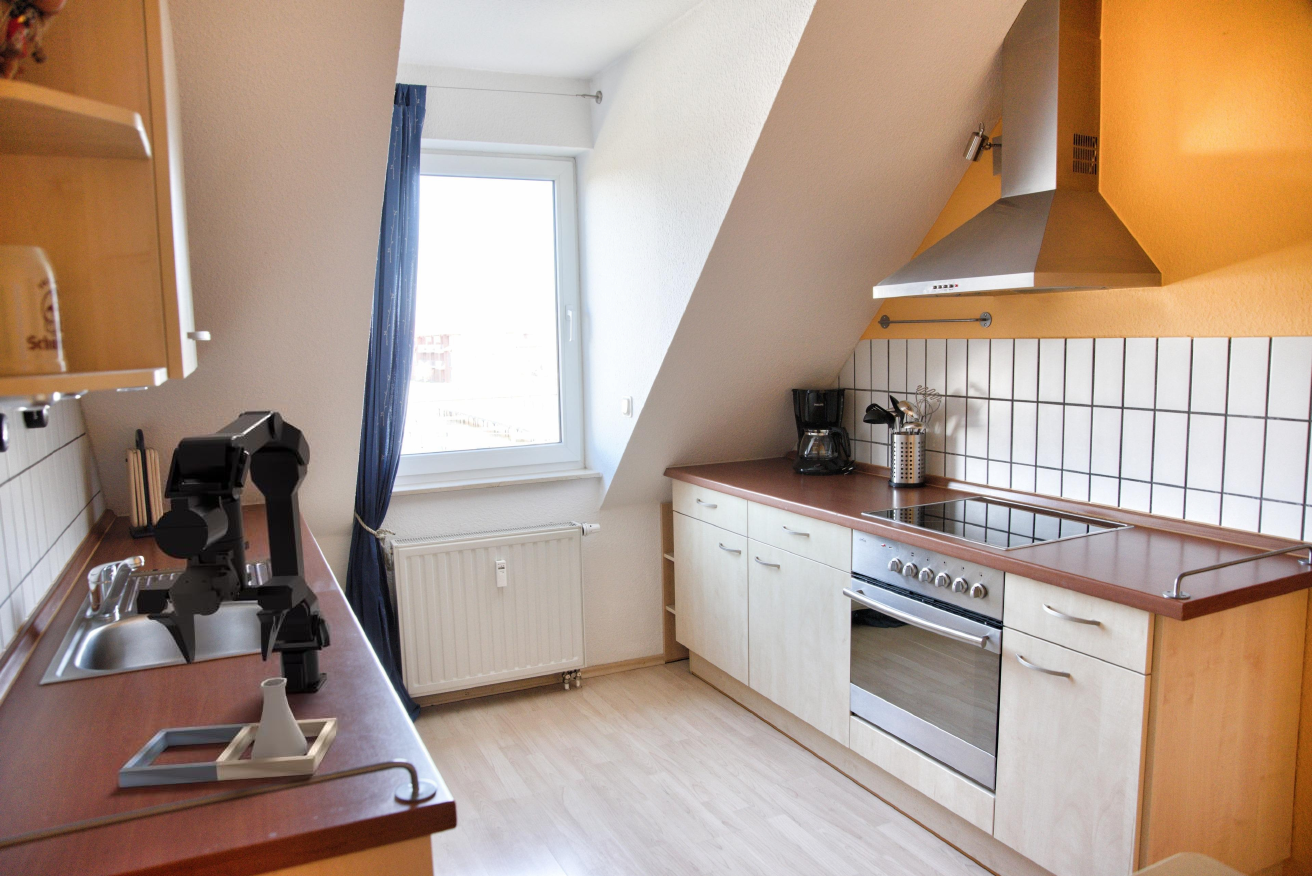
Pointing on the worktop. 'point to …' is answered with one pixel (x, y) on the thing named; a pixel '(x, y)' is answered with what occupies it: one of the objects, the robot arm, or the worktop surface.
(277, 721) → the flask
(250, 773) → the caddy
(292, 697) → the worktop surface
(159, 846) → the worktop surface
